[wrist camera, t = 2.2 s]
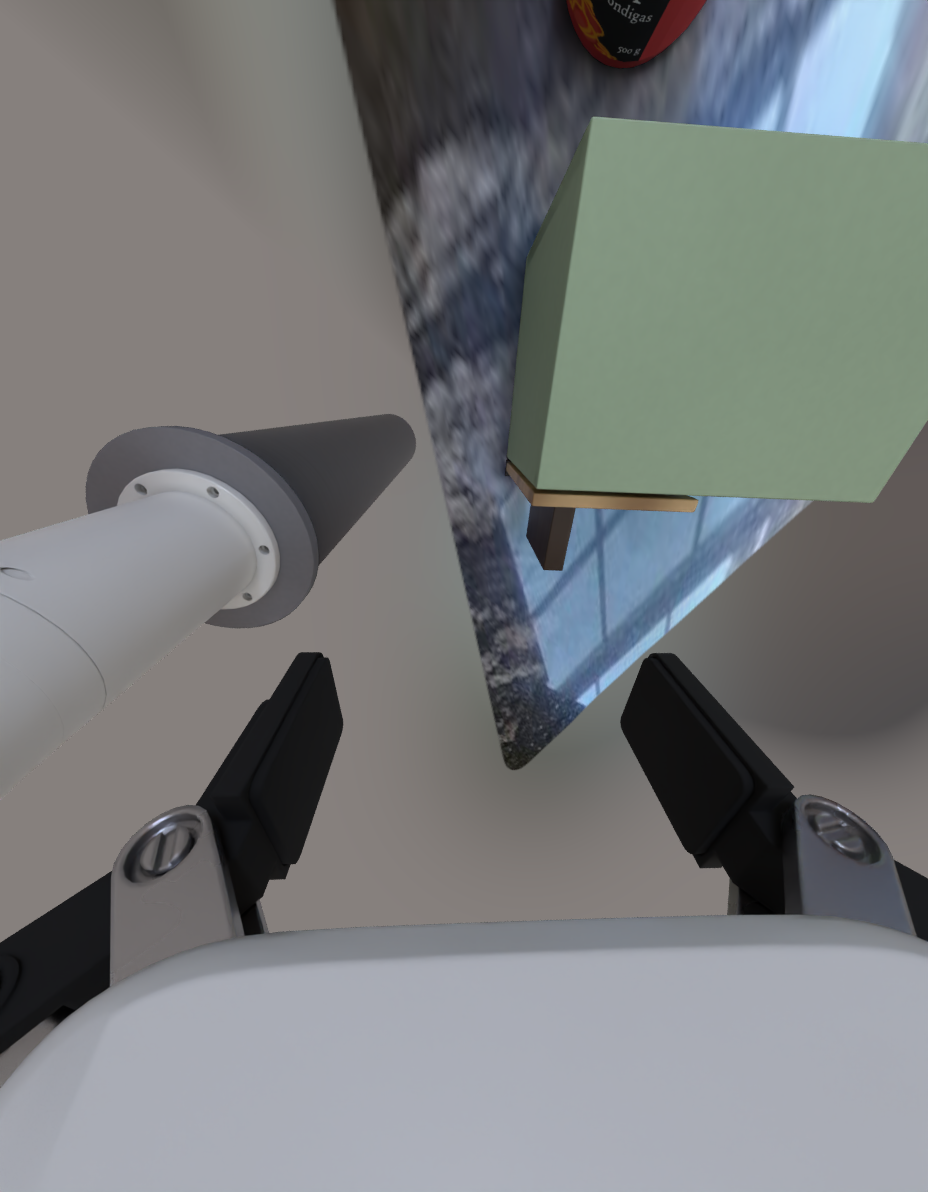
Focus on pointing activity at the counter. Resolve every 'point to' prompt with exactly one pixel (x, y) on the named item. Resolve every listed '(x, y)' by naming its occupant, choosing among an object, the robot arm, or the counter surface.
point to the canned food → (630, 27)
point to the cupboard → (725, 315)
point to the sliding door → (558, 508)
